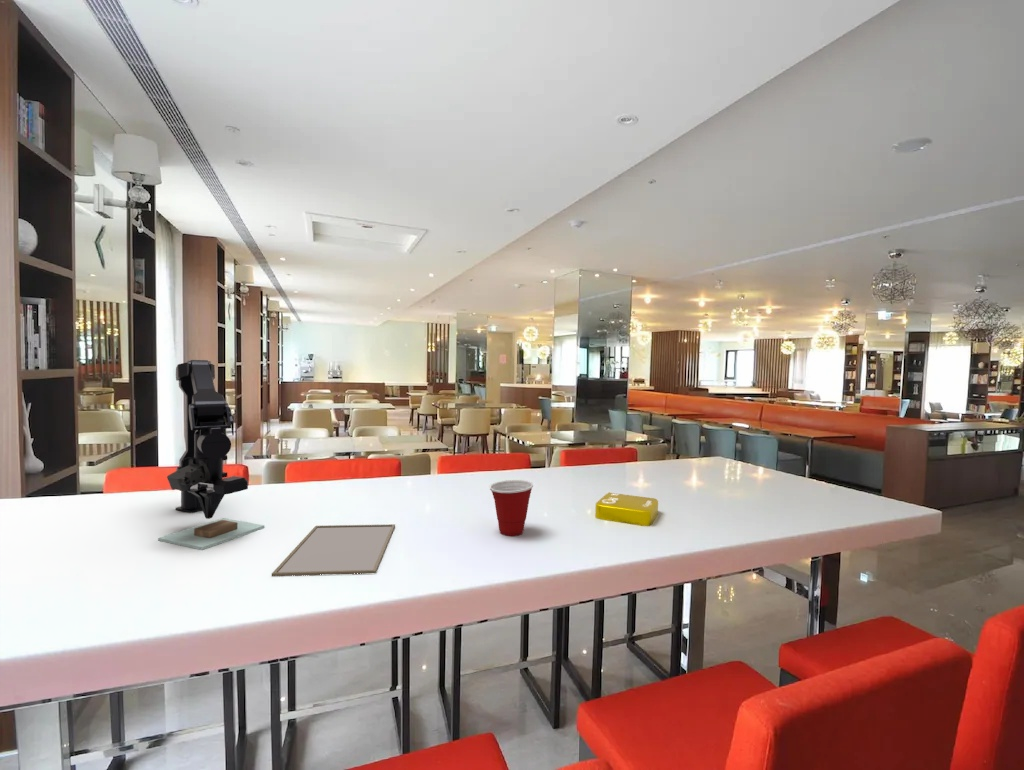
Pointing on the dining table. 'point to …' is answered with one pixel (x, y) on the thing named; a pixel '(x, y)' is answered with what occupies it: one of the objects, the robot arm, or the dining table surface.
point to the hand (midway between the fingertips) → (208, 518)
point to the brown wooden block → (215, 528)
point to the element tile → (627, 509)
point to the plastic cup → (511, 505)
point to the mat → (202, 543)
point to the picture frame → (338, 550)
